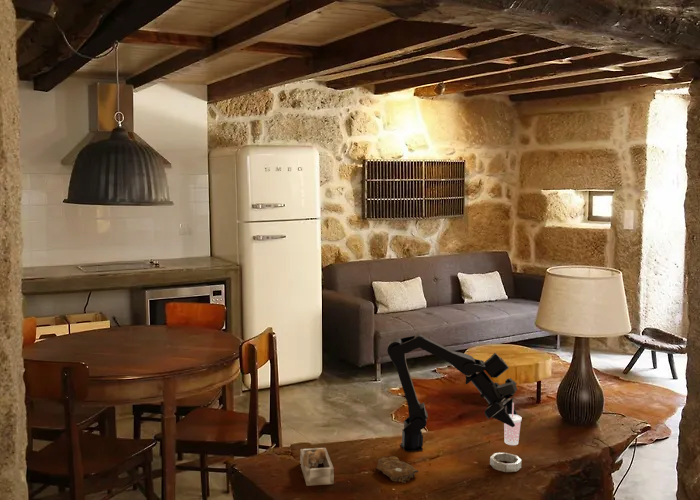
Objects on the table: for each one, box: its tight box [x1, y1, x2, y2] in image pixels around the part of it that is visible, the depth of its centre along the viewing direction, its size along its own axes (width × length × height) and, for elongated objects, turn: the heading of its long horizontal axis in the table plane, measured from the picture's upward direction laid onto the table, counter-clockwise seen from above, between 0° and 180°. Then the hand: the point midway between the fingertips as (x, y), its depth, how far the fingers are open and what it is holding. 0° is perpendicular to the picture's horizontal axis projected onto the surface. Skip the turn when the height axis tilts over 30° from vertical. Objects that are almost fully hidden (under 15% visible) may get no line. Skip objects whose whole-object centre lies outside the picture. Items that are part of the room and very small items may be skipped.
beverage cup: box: [503, 402, 523, 446], centre depth 240 cm, size 6×6×14 cm
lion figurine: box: [303, 449, 326, 469], centre depth 226 cm, size 15×5×9 cm, turn 161°
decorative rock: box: [375, 455, 419, 484], centre depth 228 cm, size 11×4×15 cm
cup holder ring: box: [489, 452, 523, 473], centre depth 235 cm, size 10×10×2 cm
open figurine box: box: [299, 447, 335, 487], centre depth 226 cm, size 8×16×5 cm, turn 11°
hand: (516, 423), depth 240 cm, fingers closed on beverage cup, 6 cm apart
